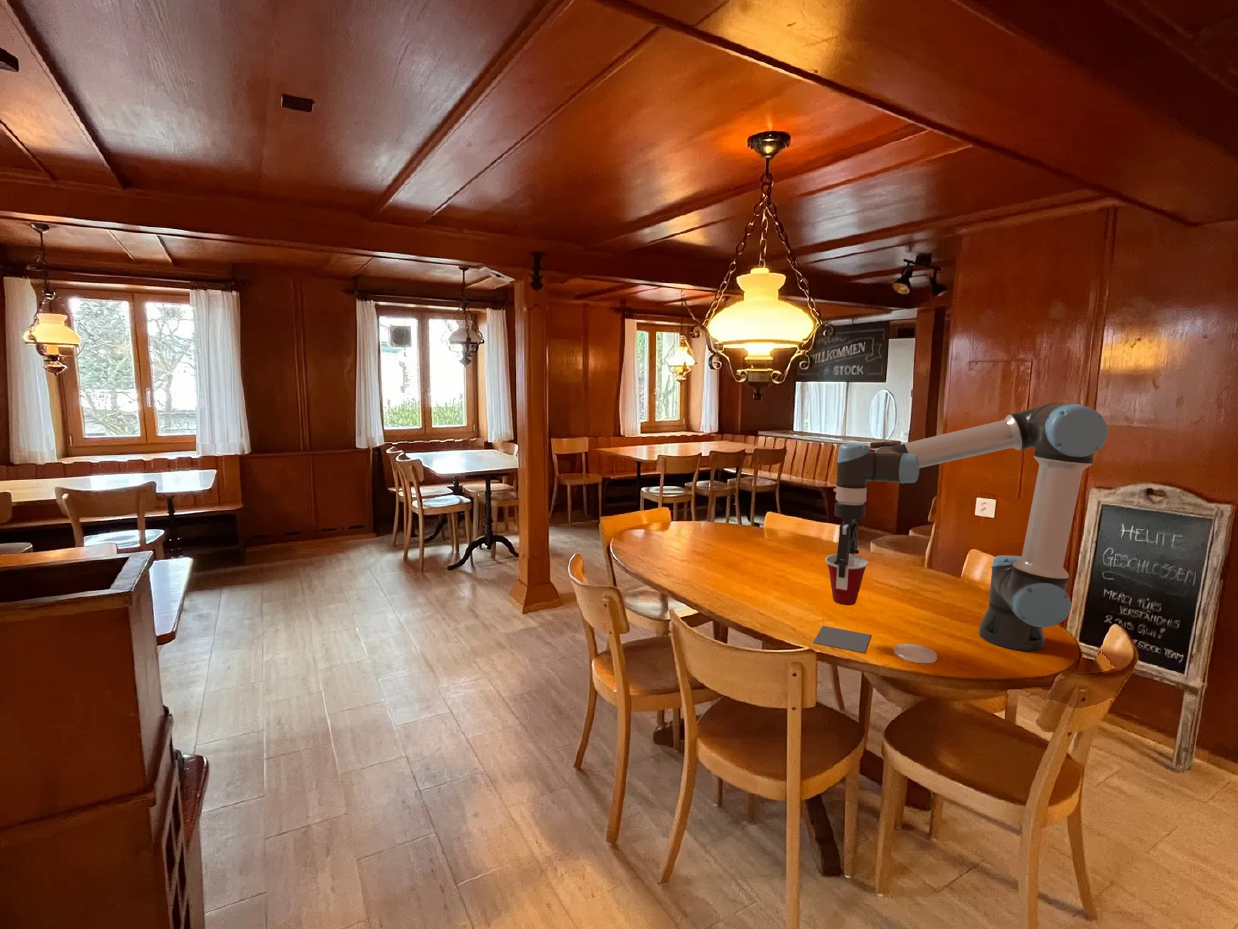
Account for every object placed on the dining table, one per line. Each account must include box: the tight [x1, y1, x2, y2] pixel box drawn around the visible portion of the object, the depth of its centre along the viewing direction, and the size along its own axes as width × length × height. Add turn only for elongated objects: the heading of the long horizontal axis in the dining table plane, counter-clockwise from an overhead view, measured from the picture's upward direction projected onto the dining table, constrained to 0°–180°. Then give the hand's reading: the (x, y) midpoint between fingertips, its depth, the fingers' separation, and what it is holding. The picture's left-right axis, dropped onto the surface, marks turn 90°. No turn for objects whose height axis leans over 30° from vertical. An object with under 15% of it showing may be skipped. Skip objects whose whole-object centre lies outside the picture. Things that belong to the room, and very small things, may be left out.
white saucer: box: [893, 643, 938, 665], centre depth 159 cm, size 10×10×1 cm
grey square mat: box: [812, 625, 872, 655], centre depth 169 cm, size 13×13×1 cm
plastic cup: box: [824, 553, 869, 606], centre depth 166 cm, size 11×11×12 cm
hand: (845, 582), depth 166 cm, fingers closed on plastic cup, 11 cm apart
